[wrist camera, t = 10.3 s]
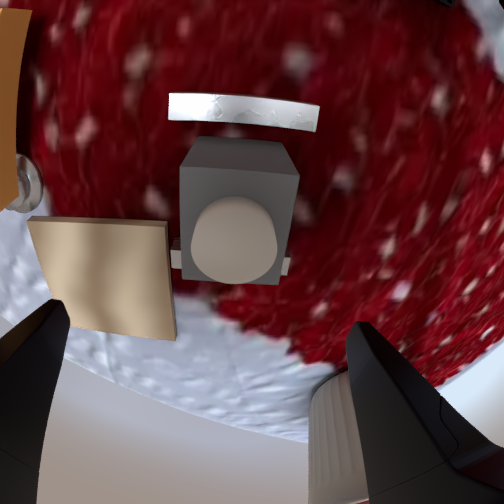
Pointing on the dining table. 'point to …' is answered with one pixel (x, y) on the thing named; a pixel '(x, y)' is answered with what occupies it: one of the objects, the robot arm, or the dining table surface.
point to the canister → (335, 446)
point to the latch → (10, 96)
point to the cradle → (199, 109)
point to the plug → (235, 210)
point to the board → (108, 273)
